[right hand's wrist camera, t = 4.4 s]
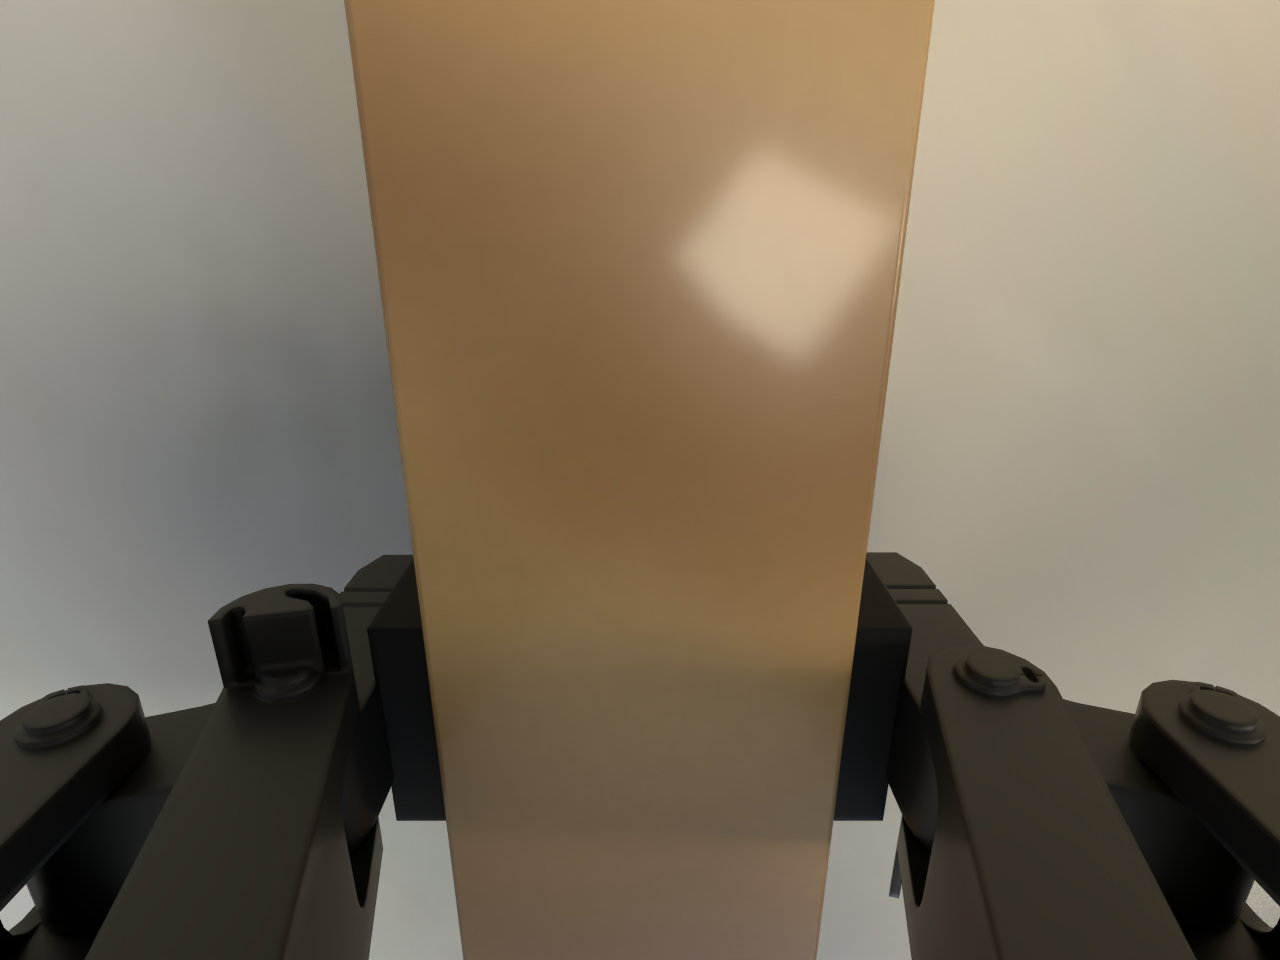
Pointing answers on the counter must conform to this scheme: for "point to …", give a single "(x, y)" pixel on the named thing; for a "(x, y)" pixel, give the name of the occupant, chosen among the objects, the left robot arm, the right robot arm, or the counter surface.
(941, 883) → the right robot arm
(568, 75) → the post
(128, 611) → the counter surface
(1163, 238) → the counter surface
